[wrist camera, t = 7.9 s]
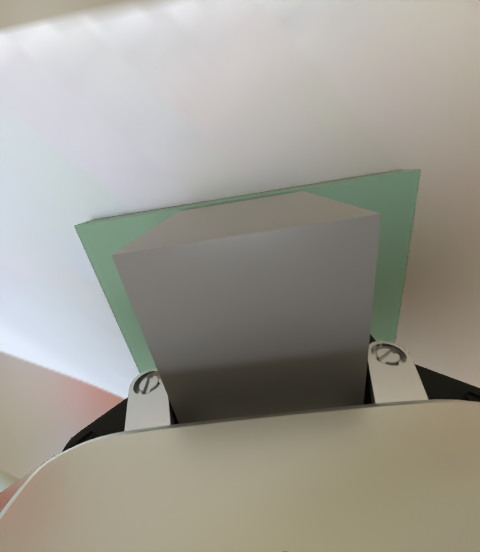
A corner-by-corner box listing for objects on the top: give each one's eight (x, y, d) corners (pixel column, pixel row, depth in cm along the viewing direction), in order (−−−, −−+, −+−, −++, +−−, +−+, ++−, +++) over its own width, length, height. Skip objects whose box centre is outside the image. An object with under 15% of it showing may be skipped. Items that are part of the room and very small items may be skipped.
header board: (399, 169, 12) (514, 168, 7) (378, 354, 16) (436, 431, 12) (92, 219, 12) (-1, 250, 8) (158, 380, 17) (127, 461, 12)
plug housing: (178, 211, 10) (111, 254, 5) (307, 190, 10) (388, 212, 5) (225, 396, 15) (218, 522, 10) (313, 386, 15) (357, 511, 9)
